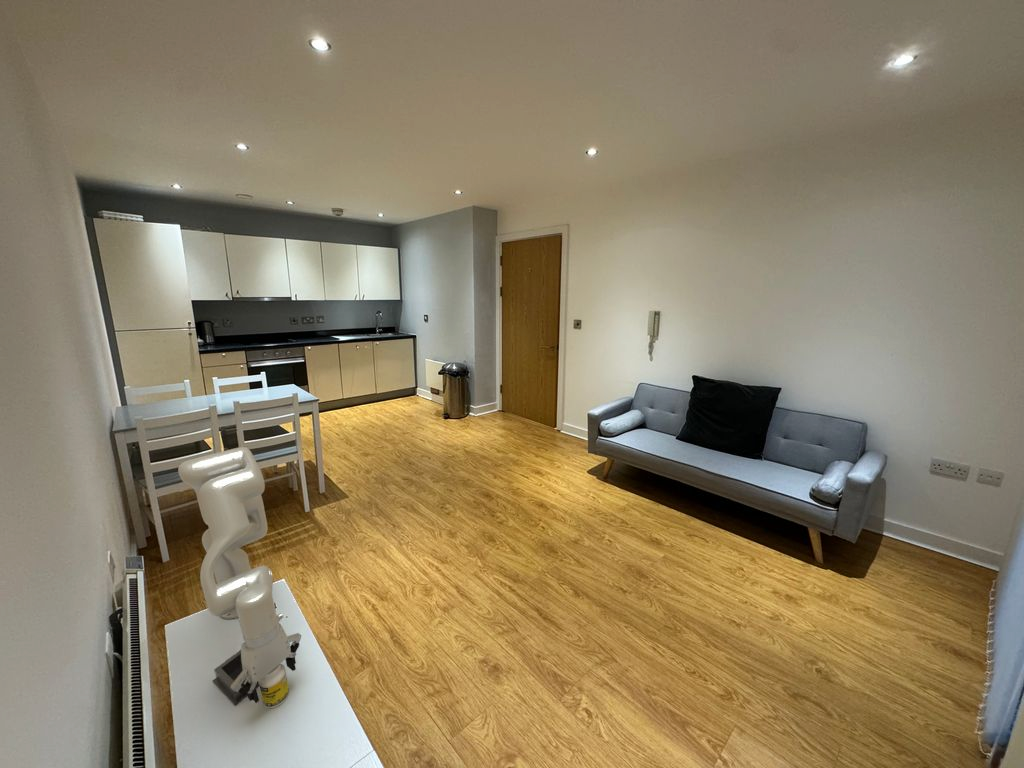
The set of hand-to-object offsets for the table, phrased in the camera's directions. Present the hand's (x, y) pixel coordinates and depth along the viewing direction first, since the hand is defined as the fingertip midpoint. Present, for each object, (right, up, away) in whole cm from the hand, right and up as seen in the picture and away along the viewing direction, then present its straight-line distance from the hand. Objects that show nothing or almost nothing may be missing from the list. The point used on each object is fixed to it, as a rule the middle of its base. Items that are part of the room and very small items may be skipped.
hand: (273, 683), depth 106 cm
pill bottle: (0, -5, +2) cm, 6 cm away
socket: (-12, -3, +8) cm, 15 cm away
